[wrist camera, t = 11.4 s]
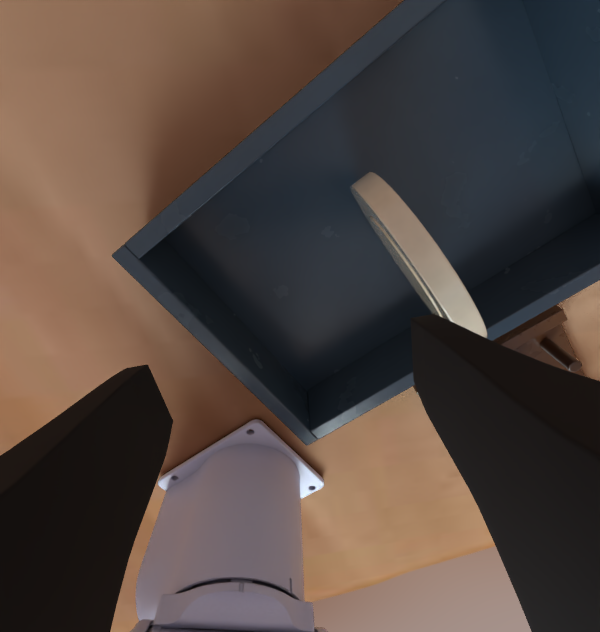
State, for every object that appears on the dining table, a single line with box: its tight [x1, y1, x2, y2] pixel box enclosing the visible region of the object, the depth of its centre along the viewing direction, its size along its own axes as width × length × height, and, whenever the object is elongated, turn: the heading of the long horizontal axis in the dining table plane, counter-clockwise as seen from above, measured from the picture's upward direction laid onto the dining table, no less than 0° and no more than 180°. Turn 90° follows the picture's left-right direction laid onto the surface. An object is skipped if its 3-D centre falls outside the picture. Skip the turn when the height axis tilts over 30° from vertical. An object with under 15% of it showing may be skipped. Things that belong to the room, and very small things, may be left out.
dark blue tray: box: [112, 0, 600, 445], centre depth 17 cm, size 20×14×4 cm
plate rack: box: [413, 305, 584, 397], centre depth 22 cm, size 9×10×3 cm
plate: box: [351, 172, 488, 338], centre depth 15 cm, size 1×8×8 cm, turn 37°
